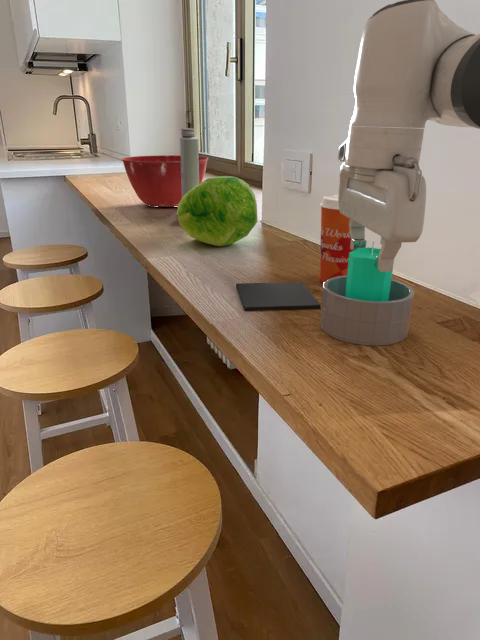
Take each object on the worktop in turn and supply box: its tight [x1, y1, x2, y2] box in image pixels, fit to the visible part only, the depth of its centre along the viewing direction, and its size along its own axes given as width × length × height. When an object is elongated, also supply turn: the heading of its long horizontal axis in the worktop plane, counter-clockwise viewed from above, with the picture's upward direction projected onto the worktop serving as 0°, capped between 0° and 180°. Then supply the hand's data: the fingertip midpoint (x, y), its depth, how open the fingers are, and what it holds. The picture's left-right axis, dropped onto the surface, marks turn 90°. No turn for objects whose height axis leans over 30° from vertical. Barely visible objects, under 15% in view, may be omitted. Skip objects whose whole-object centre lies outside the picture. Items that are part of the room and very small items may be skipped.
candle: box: [345, 241, 395, 302], centre depth 68 cm, size 6×6×12 cm
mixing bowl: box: [120, 154, 209, 207], centre depth 165 cm, size 28×28×16 cm
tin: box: [319, 275, 416, 347], centre depth 69 cm, size 12×12×6 cm
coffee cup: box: [319, 194, 352, 284], centre depth 88 cm, size 8×8×15 cm
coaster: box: [235, 281, 322, 312], centre depth 82 cm, size 12×12×1 cm
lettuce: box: [176, 175, 258, 247], centre depth 114 cm, size 17×20×17 cm
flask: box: [179, 127, 200, 198], centre depth 138 cm, size 17×5×25 cm, turn 7°
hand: (369, 260), depth 67 cm, fingers open, 8 cm apart
